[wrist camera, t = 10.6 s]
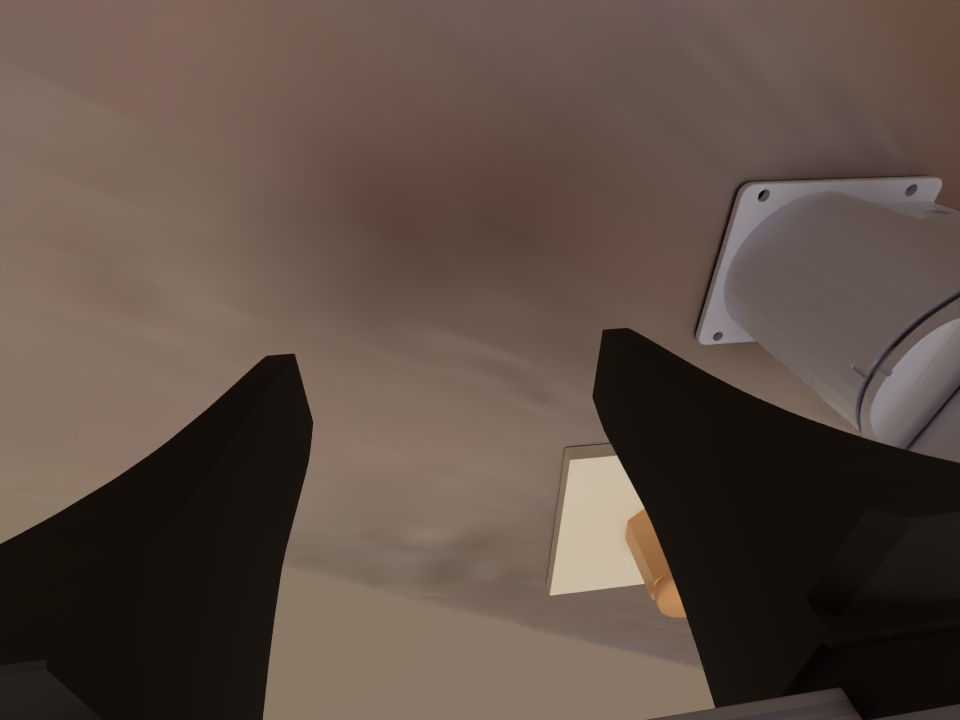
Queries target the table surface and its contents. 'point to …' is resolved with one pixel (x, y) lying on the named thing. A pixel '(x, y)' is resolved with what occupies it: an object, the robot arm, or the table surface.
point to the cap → (653, 565)
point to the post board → (593, 523)
